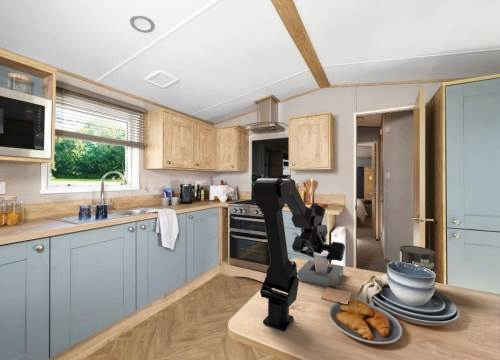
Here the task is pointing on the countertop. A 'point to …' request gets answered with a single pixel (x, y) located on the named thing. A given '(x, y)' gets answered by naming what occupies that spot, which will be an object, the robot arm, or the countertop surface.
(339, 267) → the socket block
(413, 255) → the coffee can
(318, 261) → the smoothie
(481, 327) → the countertop surface
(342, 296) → the tile
